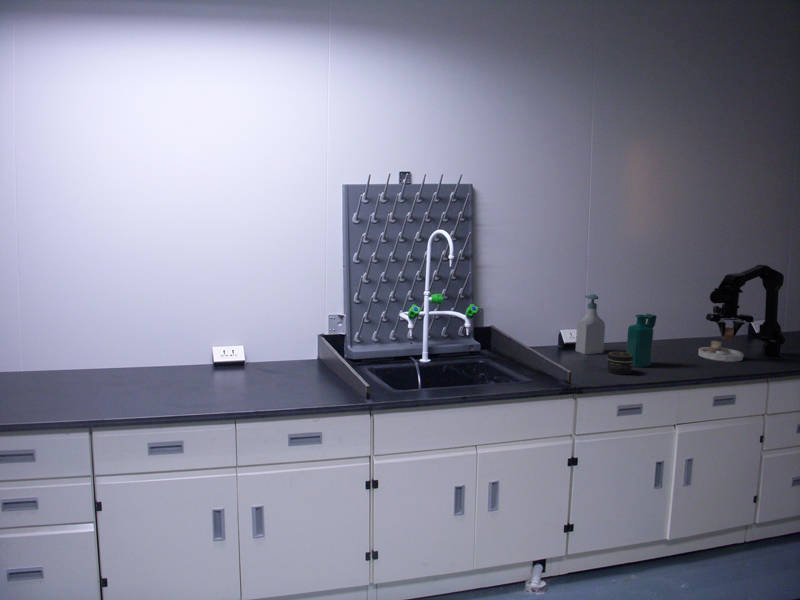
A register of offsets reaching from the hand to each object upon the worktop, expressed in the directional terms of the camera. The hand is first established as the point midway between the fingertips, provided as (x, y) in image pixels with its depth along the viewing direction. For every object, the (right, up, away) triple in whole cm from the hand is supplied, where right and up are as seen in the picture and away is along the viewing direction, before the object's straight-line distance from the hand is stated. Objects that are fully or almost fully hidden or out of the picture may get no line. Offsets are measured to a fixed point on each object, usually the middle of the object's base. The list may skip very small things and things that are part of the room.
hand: (727, 336), depth 284 cm
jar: (-58, -13, -26) cm, 65 cm away
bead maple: (0, -8, +11) cm, 14 cm away
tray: (0, -10, +6) cm, 12 cm away
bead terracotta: (0, -1, 0) cm, 1 cm away
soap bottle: (-60, -8, +11) cm, 62 cm away
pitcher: (-45, -12, -12) cm, 48 cm away
